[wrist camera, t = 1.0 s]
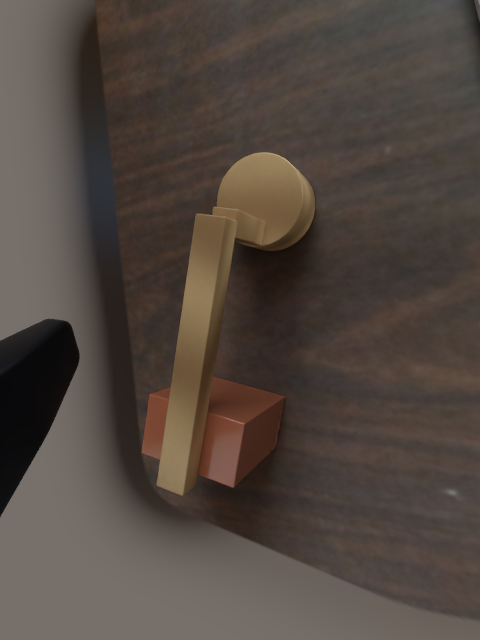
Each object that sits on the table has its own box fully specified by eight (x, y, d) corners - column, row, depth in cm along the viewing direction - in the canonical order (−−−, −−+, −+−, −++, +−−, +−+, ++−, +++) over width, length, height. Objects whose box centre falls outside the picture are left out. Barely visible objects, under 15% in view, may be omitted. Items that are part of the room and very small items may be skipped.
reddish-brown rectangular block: (276, 447, 24) (233, 488, 19) (198, 422, 26) (140, 453, 21) (285, 396, 24) (244, 423, 19) (206, 374, 26) (149, 393, 21)
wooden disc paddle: (242, 163, 24) (175, 116, 18) (322, 168, 23) (279, 118, 16) (200, 430, 26) (127, 474, 20) (271, 454, 25) (215, 510, 18)
